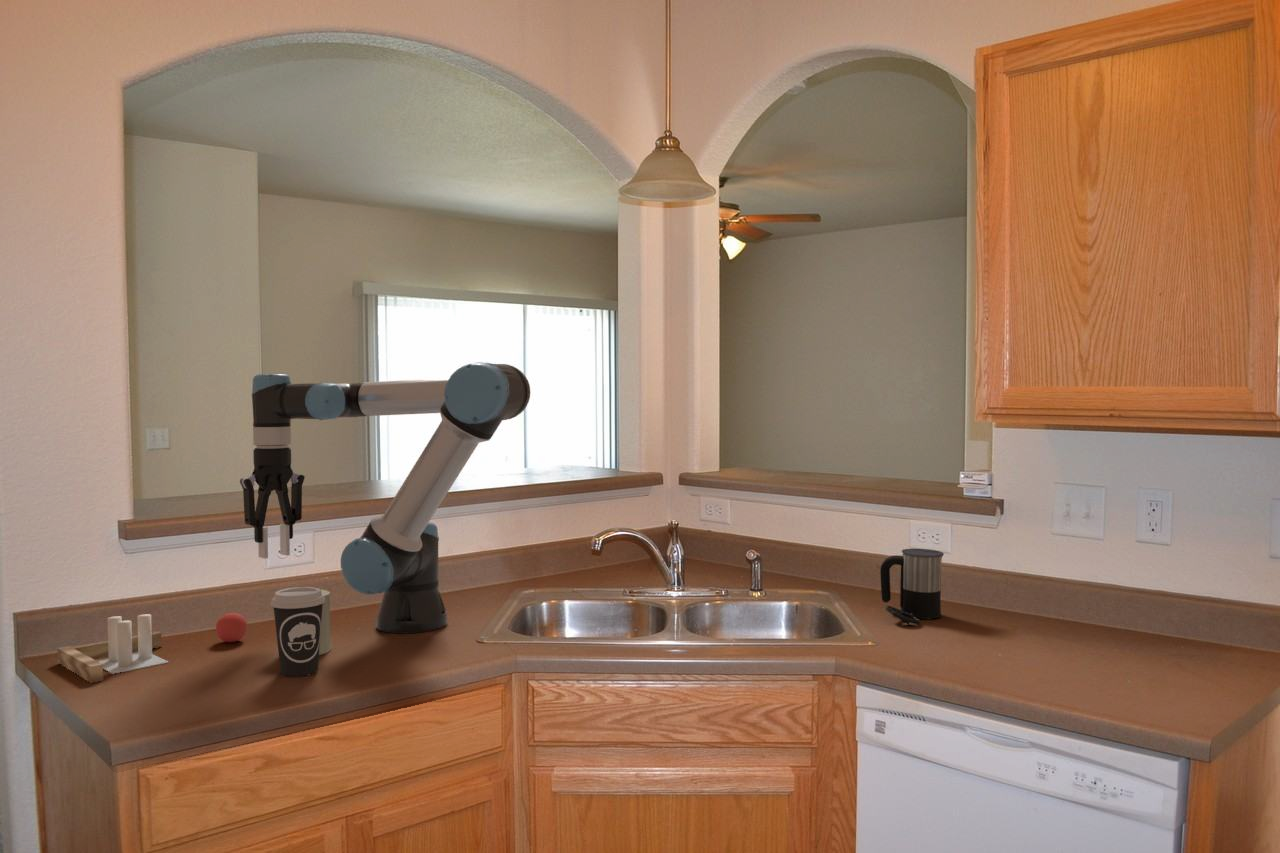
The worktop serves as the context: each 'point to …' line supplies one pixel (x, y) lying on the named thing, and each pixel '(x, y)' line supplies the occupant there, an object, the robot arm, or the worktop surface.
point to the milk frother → (915, 584)
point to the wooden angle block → (94, 657)
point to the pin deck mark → (137, 664)
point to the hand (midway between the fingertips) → (274, 555)
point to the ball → (231, 627)
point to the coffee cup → (298, 629)
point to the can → (325, 625)
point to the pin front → (144, 636)
